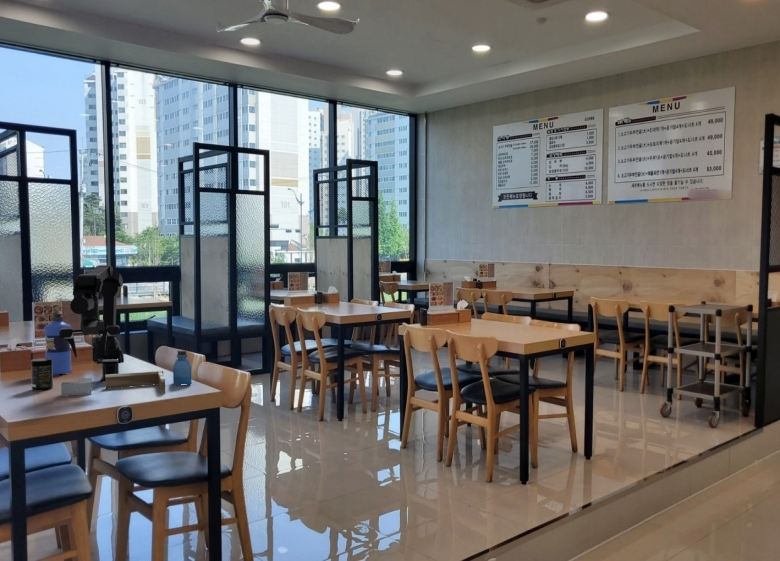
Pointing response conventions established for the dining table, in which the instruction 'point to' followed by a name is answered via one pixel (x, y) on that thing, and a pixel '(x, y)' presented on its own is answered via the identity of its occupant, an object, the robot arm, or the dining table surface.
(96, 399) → the dining table surface
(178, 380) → the blue corked bottle
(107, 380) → the tan l-shaped wall
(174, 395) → the dining table surface
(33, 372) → the supplement container
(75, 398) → the dining table surface
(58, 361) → the water bottle
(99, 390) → the dining table surface
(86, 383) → the bracket
